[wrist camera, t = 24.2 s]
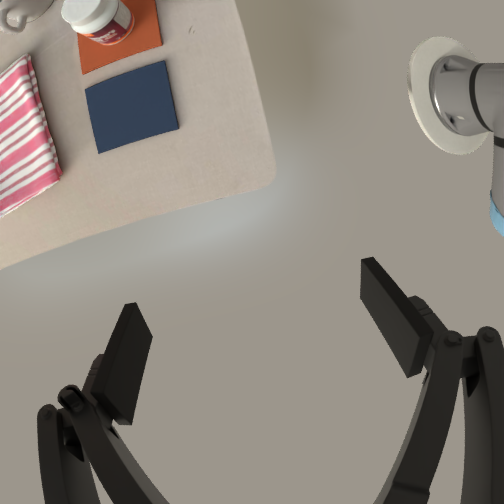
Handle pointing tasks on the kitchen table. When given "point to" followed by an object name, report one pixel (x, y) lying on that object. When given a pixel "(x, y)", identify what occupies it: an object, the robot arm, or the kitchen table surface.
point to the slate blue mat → (131, 107)
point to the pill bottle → (99, 19)
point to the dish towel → (23, 139)
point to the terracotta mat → (137, 41)
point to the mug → (21, 13)
